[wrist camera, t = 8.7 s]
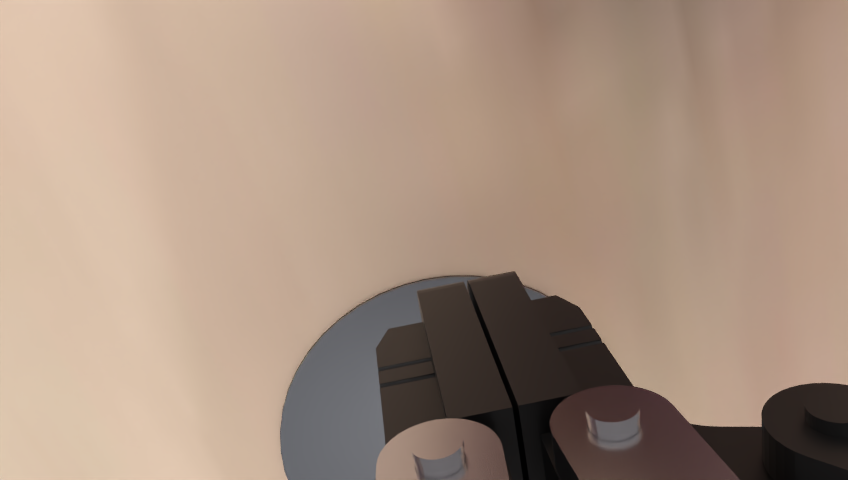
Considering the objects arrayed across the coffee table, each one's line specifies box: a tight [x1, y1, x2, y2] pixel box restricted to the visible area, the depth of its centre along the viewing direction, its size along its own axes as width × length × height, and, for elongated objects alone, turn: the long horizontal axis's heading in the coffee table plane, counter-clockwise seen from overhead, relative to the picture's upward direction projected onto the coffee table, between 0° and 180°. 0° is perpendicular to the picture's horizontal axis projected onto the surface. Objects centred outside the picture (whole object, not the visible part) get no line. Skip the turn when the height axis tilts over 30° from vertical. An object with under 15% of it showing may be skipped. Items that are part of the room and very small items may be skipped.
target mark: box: [280, 276, 547, 480], centre depth 30 cm, size 13×13×1 cm
